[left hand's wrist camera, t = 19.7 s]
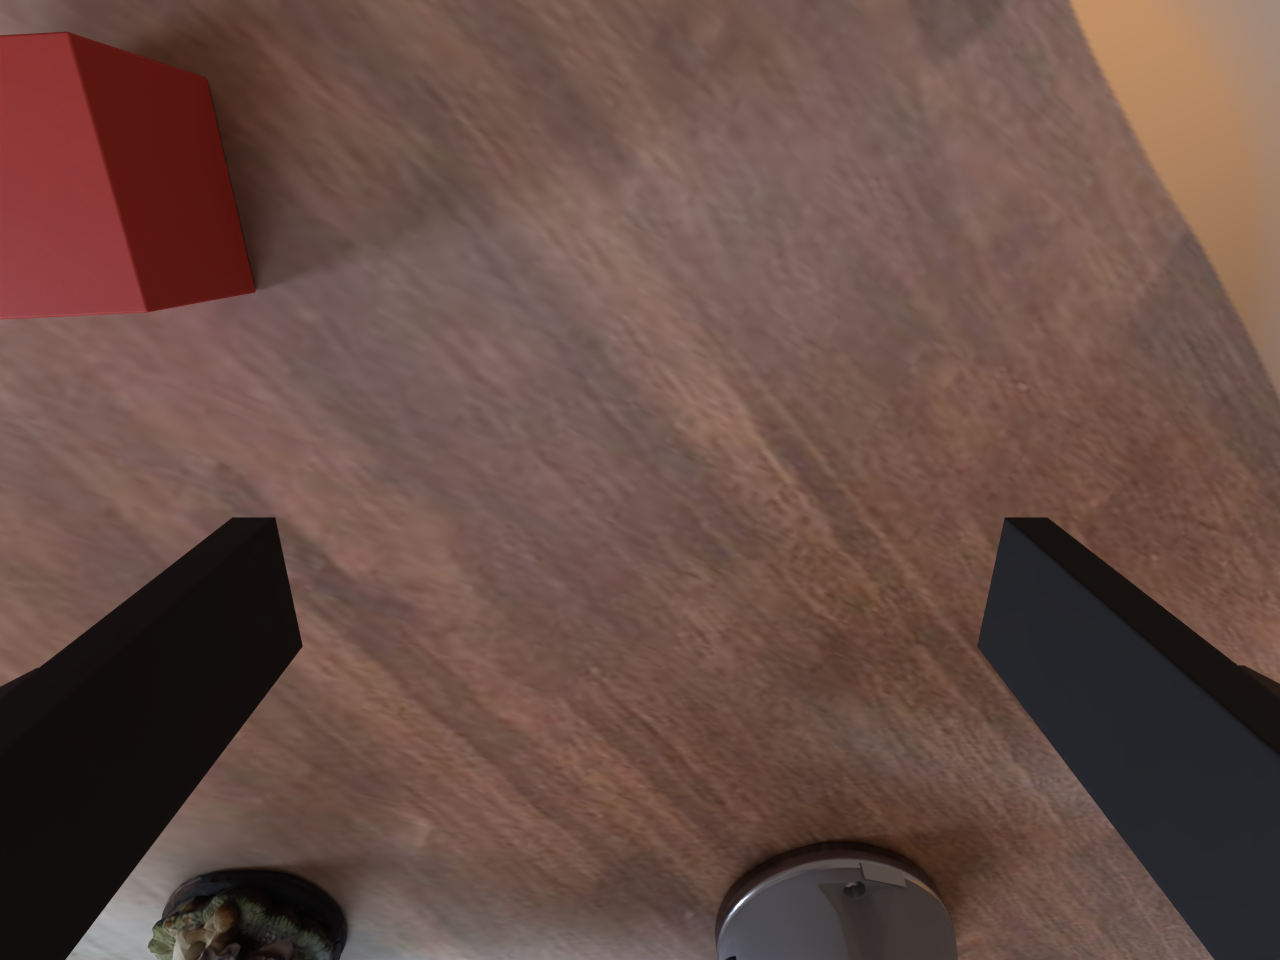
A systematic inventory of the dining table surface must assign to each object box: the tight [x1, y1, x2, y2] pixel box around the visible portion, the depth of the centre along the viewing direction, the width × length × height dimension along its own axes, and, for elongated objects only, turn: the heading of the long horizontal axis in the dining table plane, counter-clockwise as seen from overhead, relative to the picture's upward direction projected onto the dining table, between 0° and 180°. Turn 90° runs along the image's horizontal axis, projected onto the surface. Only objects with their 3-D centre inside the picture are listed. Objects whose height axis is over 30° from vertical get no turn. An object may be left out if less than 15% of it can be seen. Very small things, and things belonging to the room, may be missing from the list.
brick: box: [0, 32, 255, 319], centre depth 27 cm, size 9×7×8 cm
